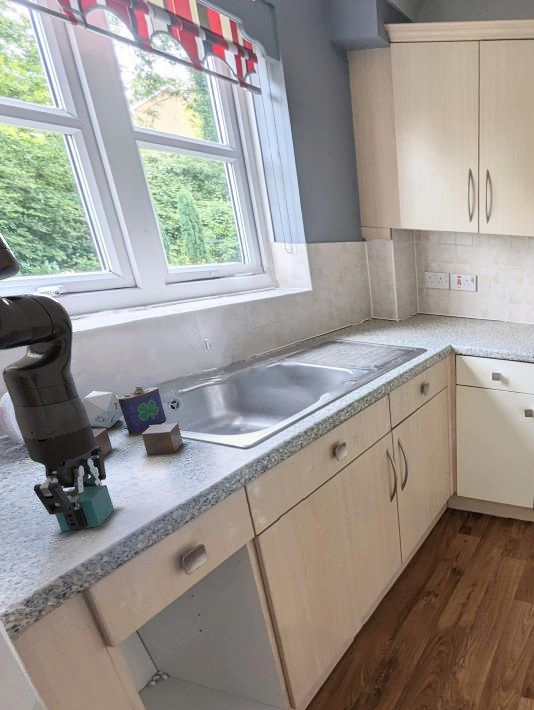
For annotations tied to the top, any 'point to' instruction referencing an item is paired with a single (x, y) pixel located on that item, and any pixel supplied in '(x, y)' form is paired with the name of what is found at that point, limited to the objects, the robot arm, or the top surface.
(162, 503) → the top surface
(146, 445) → the block
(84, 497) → the teal block
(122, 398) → the flask
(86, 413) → the robot arm
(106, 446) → the block
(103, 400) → the die
